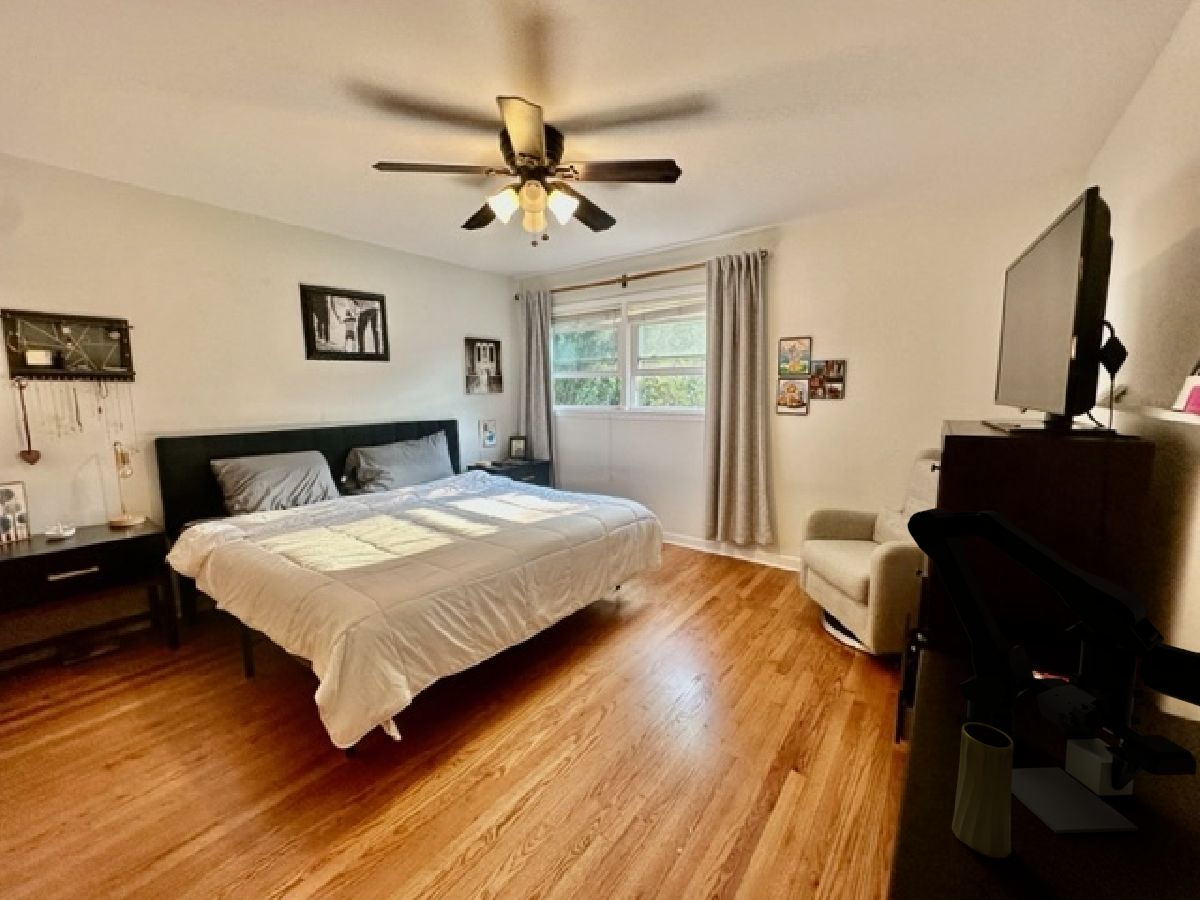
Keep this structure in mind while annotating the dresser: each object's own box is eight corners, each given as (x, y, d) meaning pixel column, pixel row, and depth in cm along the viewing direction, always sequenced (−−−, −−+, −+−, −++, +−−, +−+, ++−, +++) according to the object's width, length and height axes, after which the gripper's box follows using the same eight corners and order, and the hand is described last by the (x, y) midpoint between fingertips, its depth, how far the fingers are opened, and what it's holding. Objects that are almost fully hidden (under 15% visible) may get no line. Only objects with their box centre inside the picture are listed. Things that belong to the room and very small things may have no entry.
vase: (953, 812, 69) (959, 714, 68) (1011, 836, 65) (1018, 732, 64) (949, 842, 64) (955, 737, 63) (1011, 870, 60) (1019, 758, 59)
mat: (988, 772, 77) (988, 769, 76) (1058, 770, 77) (1058, 767, 77) (1056, 833, 66) (1056, 829, 66) (1137, 830, 66) (1137, 827, 66)
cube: (1065, 770, 77) (1067, 739, 76) (1096, 769, 77) (1099, 738, 77) (1098, 795, 72) (1101, 762, 71) (1132, 794, 72) (1135, 761, 72)
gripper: (999, 645, 82) (993, 735, 83) (1121, 715, 63) (1111, 830, 65) (1065, 644, 82) (1058, 734, 84) (1206, 713, 64) (1194, 827, 65)
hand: (1097, 775), depth 74 cm, fingers closed on cube, 5 cm apart
